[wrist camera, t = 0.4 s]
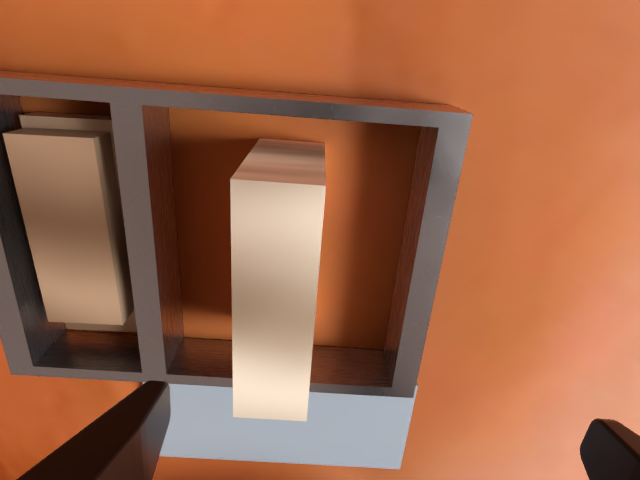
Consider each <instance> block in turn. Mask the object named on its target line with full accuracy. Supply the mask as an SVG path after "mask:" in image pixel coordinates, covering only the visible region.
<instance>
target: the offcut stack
mask: <svg viewBox="0 0 640 480" xmlns="http://www.w3.org/2000/svg"><path fill="white" fill-rule="evenodd" d="M19 117H20V122H21V126H22V129H18V130H14V131H10V132H6V133H3V137H4V142H5V146H6V150H7V154H8V158H9V162H10V166H11V170H12V174H13V179H14V183H15V187H16V191H17V195H18V199H19V203H20V207H21V212H22V216H23V220H24V224H25V228H26V232H27V236H28V240H29V245H30V249H31V253H32V257H33V261H34V265H35V269H36V273H37V277H38V282H39V286H40V290H41V294H42V298H43V302H44V306H45V310H46V315H47V319H48V322H65V323H66V327H67V329H82V330H103V331H124V332H137V326H136V317H135V309H134V301H133V292H132V284H131V276H130V268H129V259H128V251H127V243H126V234H125V226H124V218H123V209H122V201H121V193H120V185H119V176H118V168H117V160H116V151H115V143H114V135H113V127H112V118H111V116H101V115H83V114H65V113H47V112H32V113H27V114H22V115H19Z"/></svg>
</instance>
